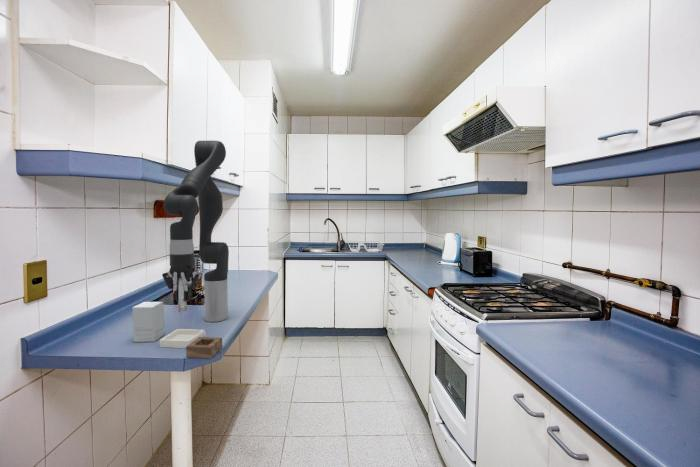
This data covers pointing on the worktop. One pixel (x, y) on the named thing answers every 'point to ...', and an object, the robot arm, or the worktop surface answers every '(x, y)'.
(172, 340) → the tray
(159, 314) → the supplement box
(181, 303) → the cylinder
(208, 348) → the bore block
